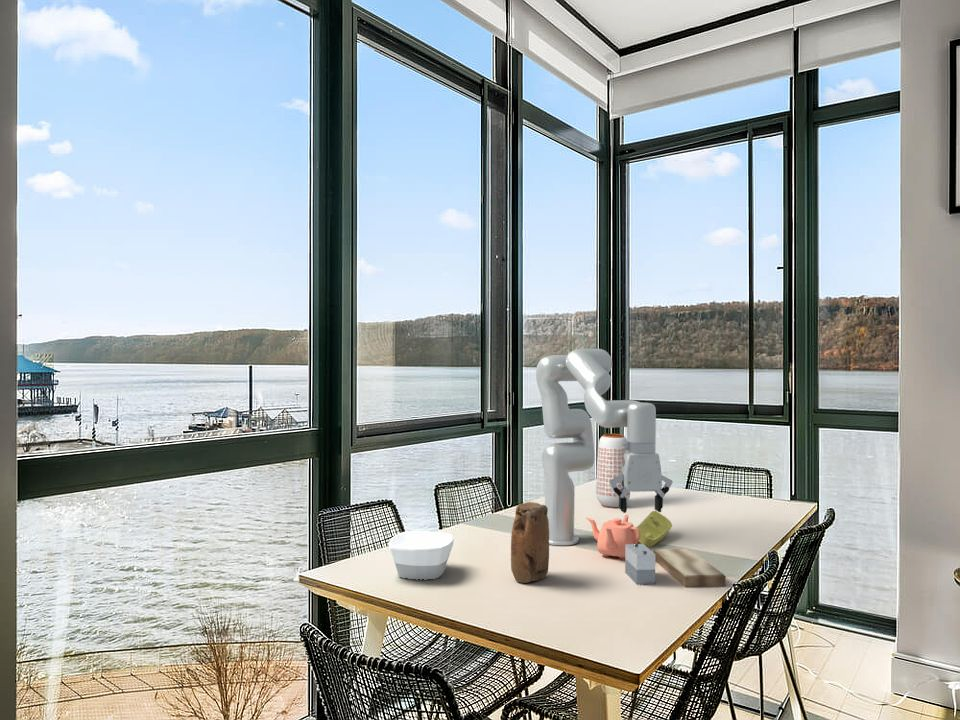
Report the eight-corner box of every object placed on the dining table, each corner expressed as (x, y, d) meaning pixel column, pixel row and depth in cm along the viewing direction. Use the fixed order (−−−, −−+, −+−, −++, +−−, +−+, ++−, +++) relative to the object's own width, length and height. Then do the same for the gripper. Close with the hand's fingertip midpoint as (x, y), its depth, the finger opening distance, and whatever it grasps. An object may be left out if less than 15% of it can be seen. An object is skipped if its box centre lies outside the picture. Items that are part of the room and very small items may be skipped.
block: (528, 570, 195) (529, 499, 195) (551, 576, 190) (552, 503, 190) (506, 581, 186) (507, 506, 186) (530, 587, 182) (530, 510, 181)
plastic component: (652, 541, 217) (625, 523, 222) (643, 560, 220) (617, 542, 225) (676, 524, 233) (650, 507, 238) (667, 541, 236) (642, 525, 241)
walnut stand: (685, 587, 182) (685, 575, 182) (653, 559, 206) (653, 549, 206) (725, 585, 183) (725, 574, 183) (689, 558, 207) (689, 548, 207)
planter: (593, 501, 284) (594, 432, 283) (626, 502, 283) (627, 433, 283) (598, 509, 270) (598, 436, 270) (632, 509, 270) (633, 437, 269)
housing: (636, 585, 184) (637, 553, 184) (625, 572, 194) (625, 542, 194) (655, 584, 185) (655, 552, 184) (642, 572, 195) (642, 542, 194)
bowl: (381, 582, 185) (381, 547, 185) (398, 562, 202) (398, 529, 202) (447, 585, 182) (447, 550, 182) (458, 565, 200) (458, 532, 200)
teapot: (606, 564, 201) (606, 526, 201) (585, 550, 215) (585, 515, 215) (651, 560, 206) (651, 523, 205) (627, 546, 219) (627, 512, 219)
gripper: (614, 450, 184) (613, 515, 184) (677, 450, 186) (676, 514, 186) (606, 446, 192) (605, 508, 192) (667, 446, 193) (666, 507, 194)
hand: (640, 511), depth 189 cm, fingers open, 9 cm apart
